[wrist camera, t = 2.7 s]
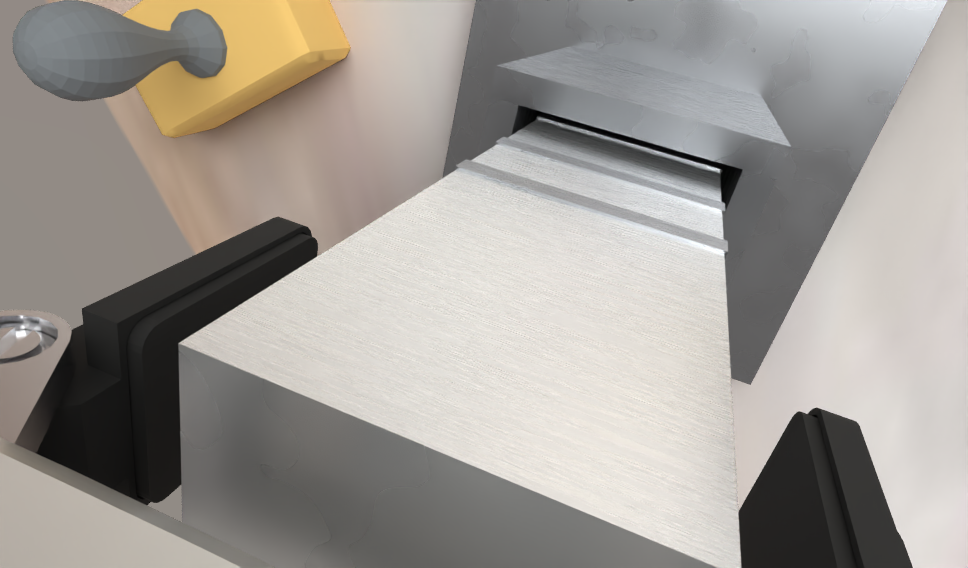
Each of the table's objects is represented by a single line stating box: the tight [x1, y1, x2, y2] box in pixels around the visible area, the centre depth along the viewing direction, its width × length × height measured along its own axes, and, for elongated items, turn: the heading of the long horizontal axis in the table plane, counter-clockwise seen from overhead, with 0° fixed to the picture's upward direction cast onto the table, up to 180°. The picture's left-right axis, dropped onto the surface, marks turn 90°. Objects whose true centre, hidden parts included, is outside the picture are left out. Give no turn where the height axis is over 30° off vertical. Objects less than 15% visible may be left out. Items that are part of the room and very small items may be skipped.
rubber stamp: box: [13, 0, 351, 138], centre depth 26 cm, size 10×6×12 cm, turn 114°
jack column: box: [178, 113, 741, 568], centre depth 16 cm, size 5×5×22 cm
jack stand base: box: [443, 0, 948, 385], centre depth 22 cm, size 16×16×12 cm
